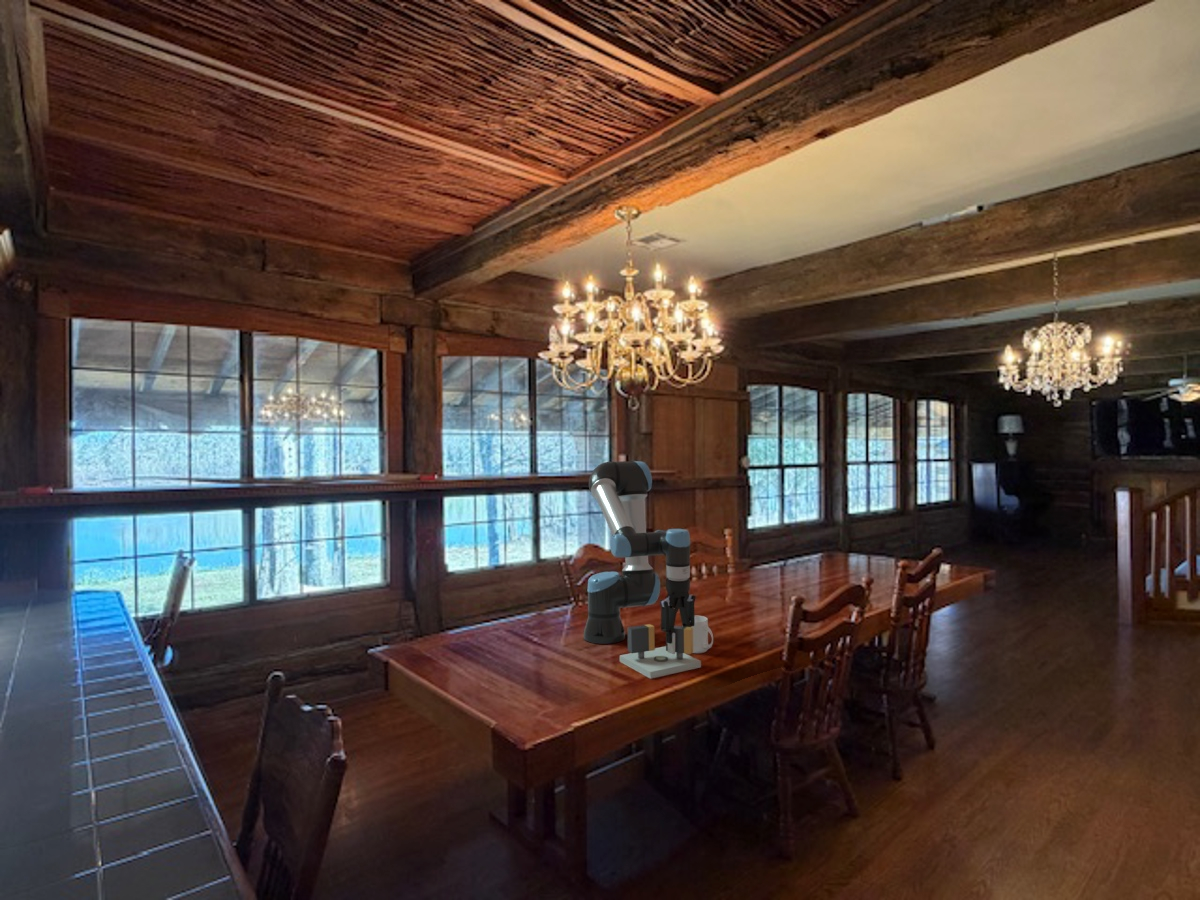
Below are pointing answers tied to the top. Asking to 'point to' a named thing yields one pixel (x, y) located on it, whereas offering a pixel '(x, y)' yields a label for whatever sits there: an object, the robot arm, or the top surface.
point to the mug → (701, 634)
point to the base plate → (659, 662)
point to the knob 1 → (641, 639)
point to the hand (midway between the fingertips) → (677, 650)
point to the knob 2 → (682, 641)
